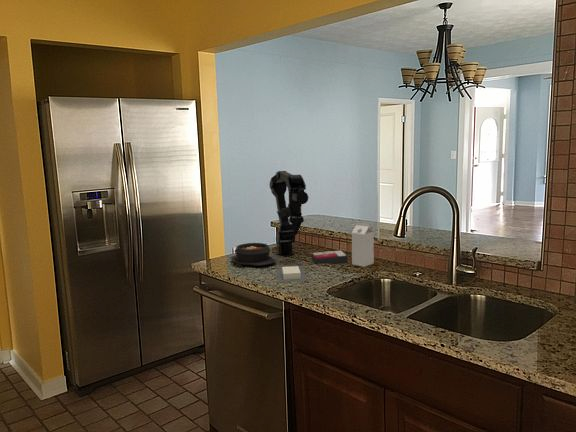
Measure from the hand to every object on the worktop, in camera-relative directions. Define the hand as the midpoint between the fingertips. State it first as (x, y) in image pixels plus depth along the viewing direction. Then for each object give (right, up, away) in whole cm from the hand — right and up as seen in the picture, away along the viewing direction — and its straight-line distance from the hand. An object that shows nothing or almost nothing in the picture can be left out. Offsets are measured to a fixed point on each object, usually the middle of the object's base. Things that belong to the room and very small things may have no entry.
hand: (295, 234), depth 226 cm
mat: (-2, -17, -21) cm, 27 cm away
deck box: (-3, -14, -18) cm, 23 cm away
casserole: (-20, -14, +1) cm, 24 cm away
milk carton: (+31, -14, -6) cm, 34 cm away
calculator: (+16, -13, +2) cm, 21 cm away
